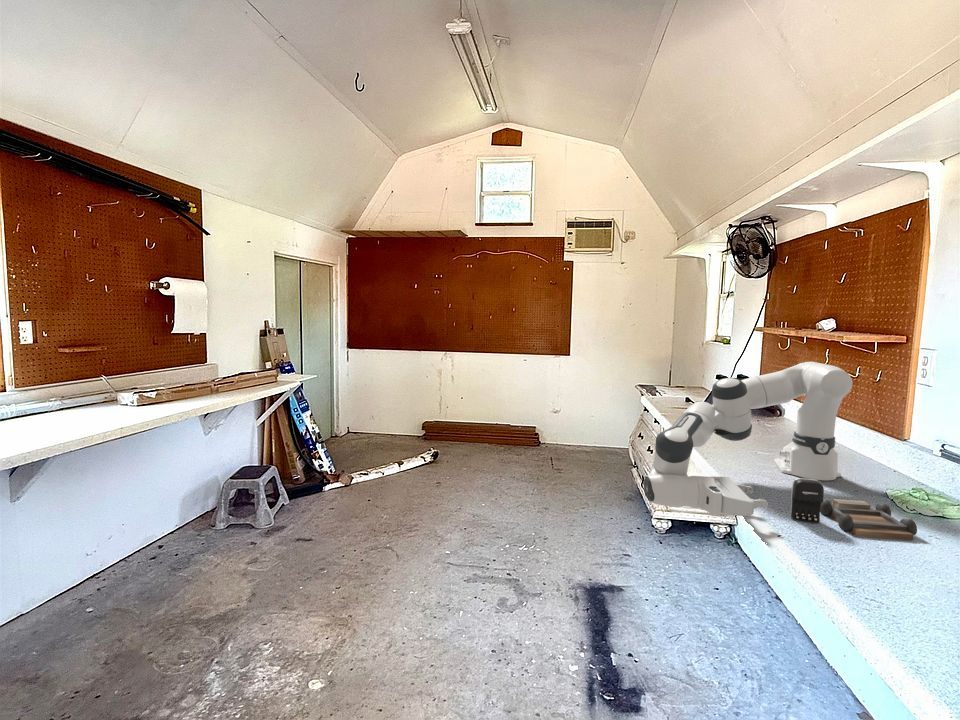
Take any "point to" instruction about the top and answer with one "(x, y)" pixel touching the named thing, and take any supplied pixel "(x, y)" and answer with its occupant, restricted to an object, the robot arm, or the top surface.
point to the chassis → (868, 519)
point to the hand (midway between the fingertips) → (759, 496)
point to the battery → (806, 500)
